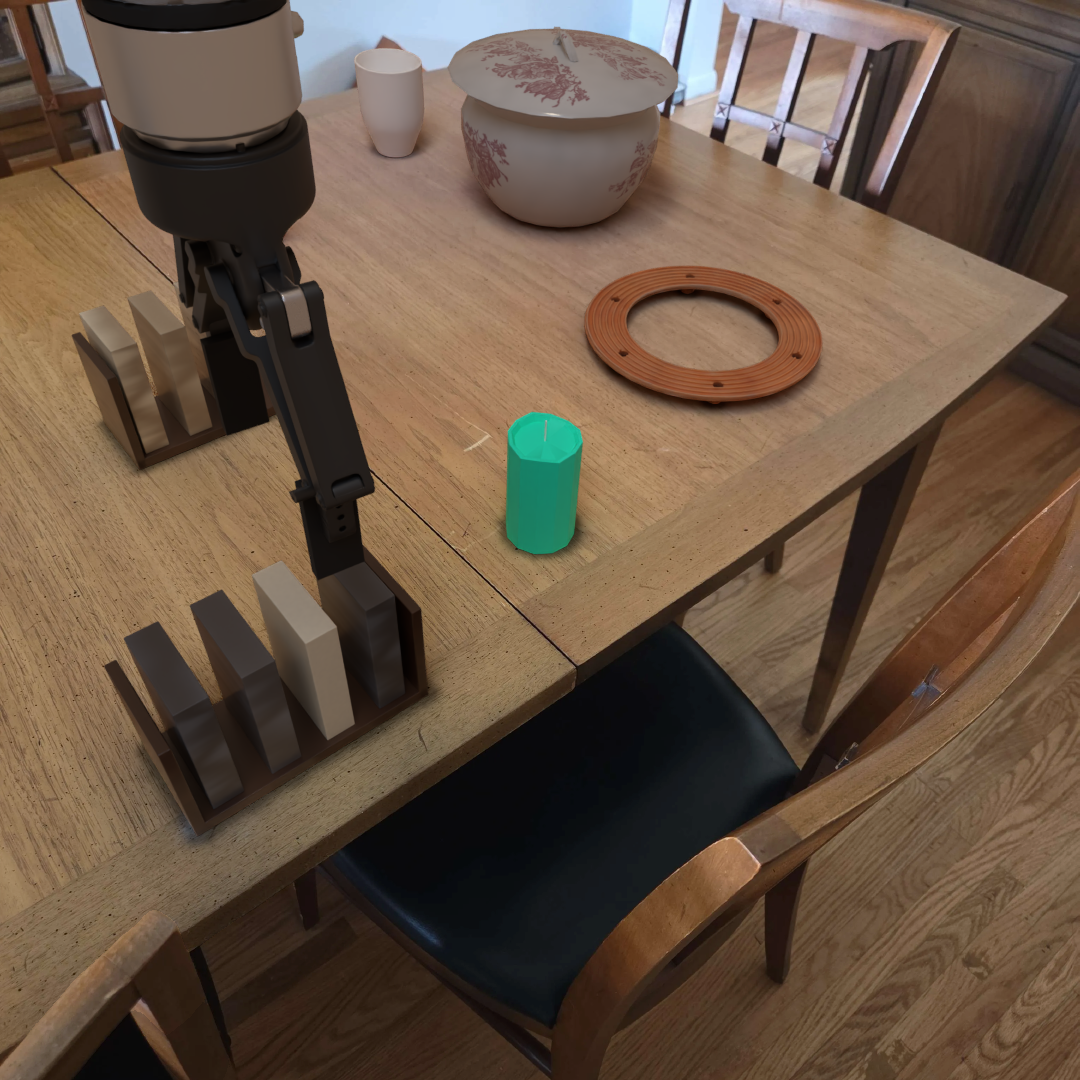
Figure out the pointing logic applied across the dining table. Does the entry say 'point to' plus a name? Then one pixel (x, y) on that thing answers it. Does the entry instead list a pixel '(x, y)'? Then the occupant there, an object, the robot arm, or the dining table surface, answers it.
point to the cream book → (305, 648)
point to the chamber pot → (560, 120)
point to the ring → (638, 365)
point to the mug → (391, 98)
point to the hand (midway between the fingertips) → (289, 491)
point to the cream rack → (176, 370)
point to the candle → (542, 482)
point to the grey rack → (268, 693)
